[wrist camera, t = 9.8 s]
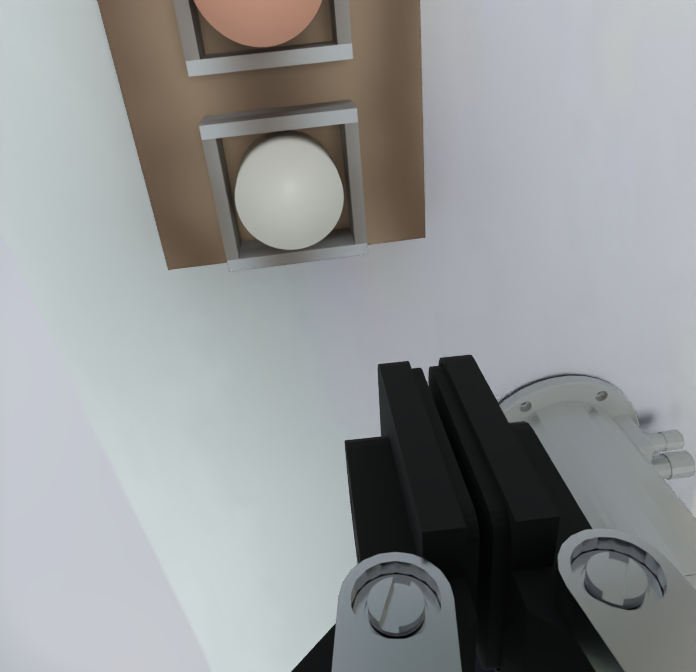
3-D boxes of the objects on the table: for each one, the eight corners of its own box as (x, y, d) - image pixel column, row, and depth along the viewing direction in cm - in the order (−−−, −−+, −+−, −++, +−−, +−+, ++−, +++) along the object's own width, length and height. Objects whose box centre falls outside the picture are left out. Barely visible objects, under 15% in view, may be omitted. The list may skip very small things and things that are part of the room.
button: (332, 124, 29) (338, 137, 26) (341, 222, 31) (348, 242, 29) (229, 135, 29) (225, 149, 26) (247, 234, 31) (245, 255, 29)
